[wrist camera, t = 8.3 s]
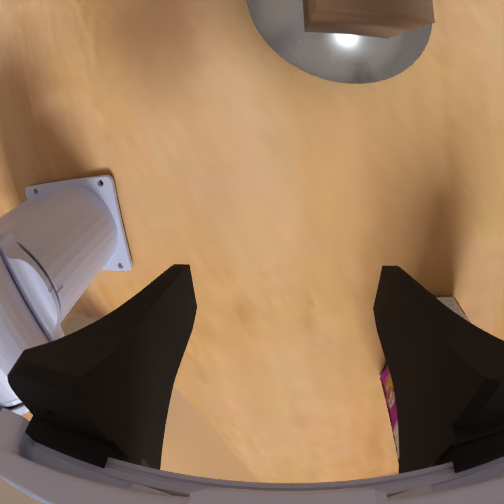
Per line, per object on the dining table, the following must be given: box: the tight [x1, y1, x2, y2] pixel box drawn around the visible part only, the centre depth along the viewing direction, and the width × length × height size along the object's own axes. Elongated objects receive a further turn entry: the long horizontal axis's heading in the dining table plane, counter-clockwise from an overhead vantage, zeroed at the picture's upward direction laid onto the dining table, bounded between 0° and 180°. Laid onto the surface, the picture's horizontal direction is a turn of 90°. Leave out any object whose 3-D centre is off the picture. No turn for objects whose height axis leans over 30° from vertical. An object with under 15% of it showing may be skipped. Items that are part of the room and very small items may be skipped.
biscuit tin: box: [247, 0, 432, 84], centre depth 13 cm, size 10×10×3 cm
